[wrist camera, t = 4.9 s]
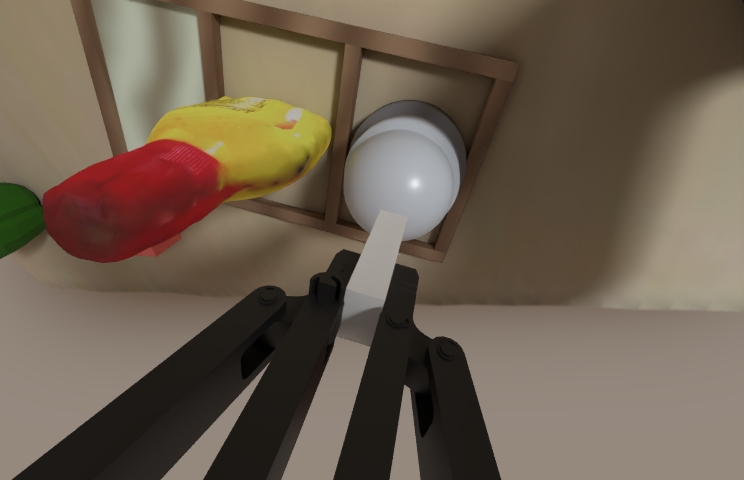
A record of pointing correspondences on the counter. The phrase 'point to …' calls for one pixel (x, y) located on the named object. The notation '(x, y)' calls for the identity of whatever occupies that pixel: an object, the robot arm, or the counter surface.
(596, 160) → the counter surface
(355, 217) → the dome
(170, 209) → the bottle
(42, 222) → the bell pepper
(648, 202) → the counter surface
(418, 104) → the divided wooden frame
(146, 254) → the die
